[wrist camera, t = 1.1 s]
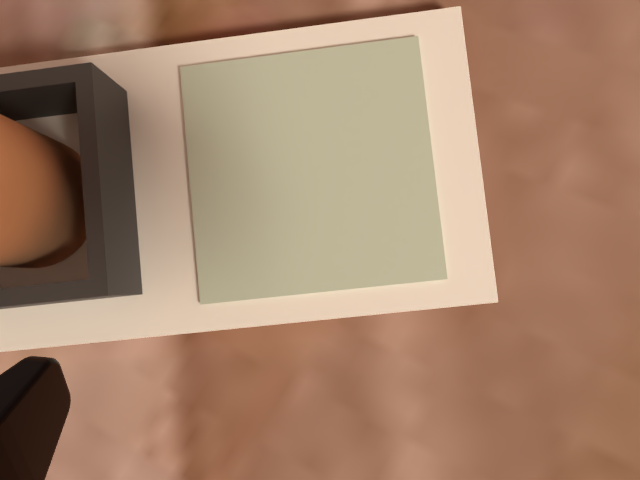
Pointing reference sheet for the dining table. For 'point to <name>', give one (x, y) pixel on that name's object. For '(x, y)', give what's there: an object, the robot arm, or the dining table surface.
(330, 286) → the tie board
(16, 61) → the dining table surface
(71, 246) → the tall peach cylinder
